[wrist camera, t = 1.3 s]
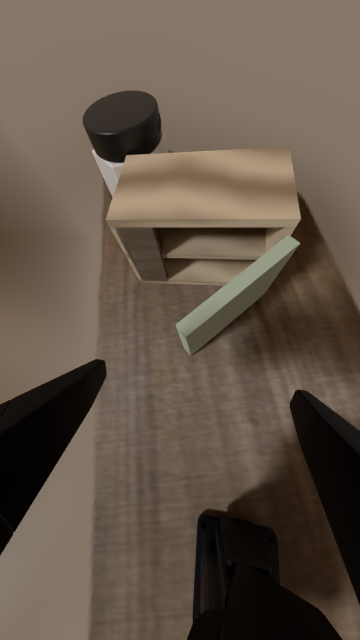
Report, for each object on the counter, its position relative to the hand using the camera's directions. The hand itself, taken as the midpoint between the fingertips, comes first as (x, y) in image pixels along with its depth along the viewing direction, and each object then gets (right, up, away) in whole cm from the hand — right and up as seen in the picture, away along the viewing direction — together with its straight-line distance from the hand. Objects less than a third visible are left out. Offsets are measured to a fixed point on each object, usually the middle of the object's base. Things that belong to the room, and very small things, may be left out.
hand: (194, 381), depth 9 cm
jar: (-6, +21, +22) cm, 30 cm away
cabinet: (+2, +12, +17) cm, 21 cm away
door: (+5, +3, +13) cm, 15 cm away
